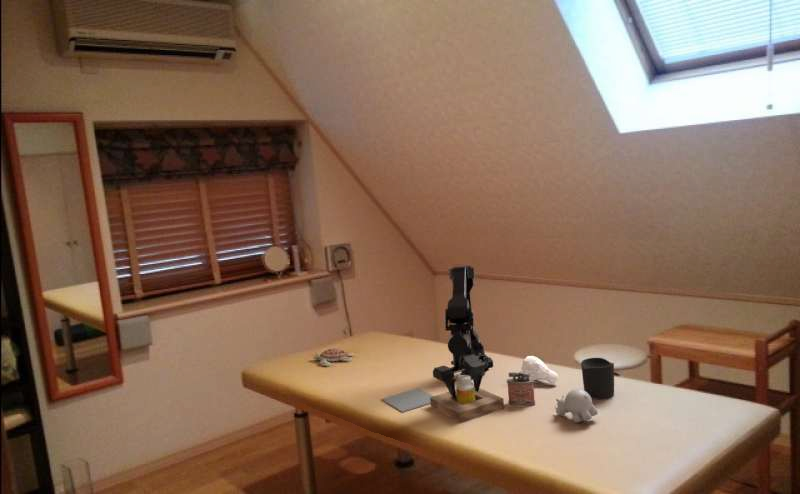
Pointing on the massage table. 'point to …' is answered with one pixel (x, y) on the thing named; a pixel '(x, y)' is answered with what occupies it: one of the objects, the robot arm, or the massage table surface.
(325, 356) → the decorative turtle
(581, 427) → the massage table surface
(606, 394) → the pen holder
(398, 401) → the mat
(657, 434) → the massage table surface
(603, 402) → the massage table surface
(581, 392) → the round bodied animal figurine
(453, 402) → the pocket block
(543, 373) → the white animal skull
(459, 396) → the supplement bottle
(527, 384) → the lighter
